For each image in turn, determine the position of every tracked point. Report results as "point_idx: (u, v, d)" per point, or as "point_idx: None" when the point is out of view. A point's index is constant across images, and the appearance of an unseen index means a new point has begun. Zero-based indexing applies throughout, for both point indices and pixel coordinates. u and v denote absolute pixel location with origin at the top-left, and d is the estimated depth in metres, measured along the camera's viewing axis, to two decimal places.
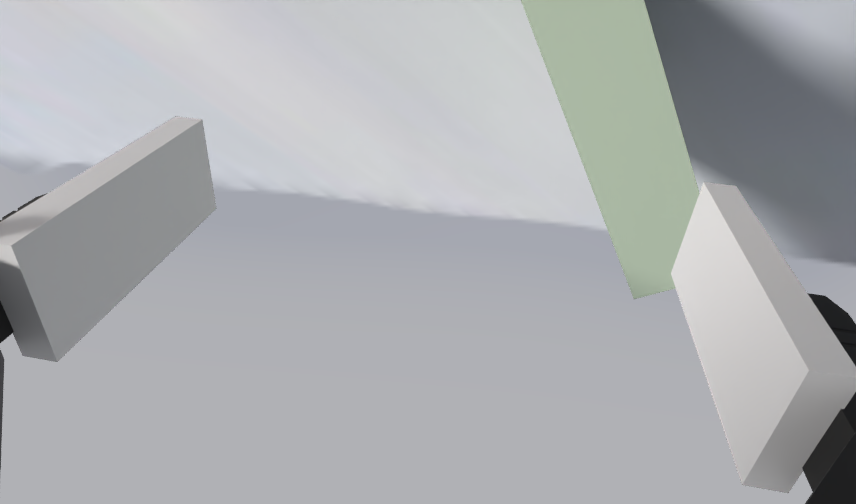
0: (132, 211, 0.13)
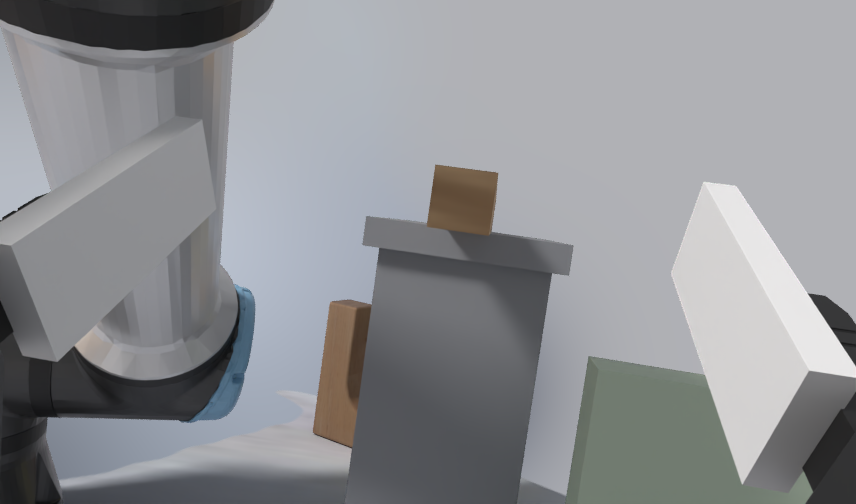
0: (132, 211, 0.13)
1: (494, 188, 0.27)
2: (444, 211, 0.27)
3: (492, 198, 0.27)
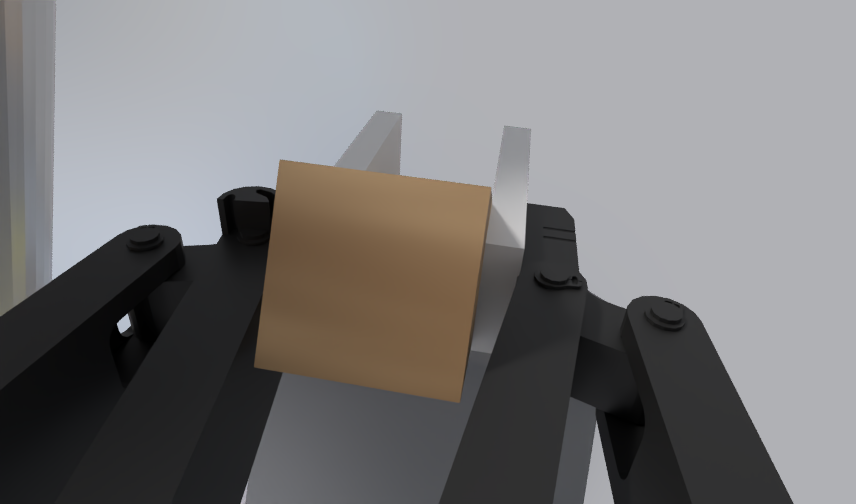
0: None
1: (478, 241, 0.08)
2: (311, 317, 0.08)
3: (471, 275, 0.08)
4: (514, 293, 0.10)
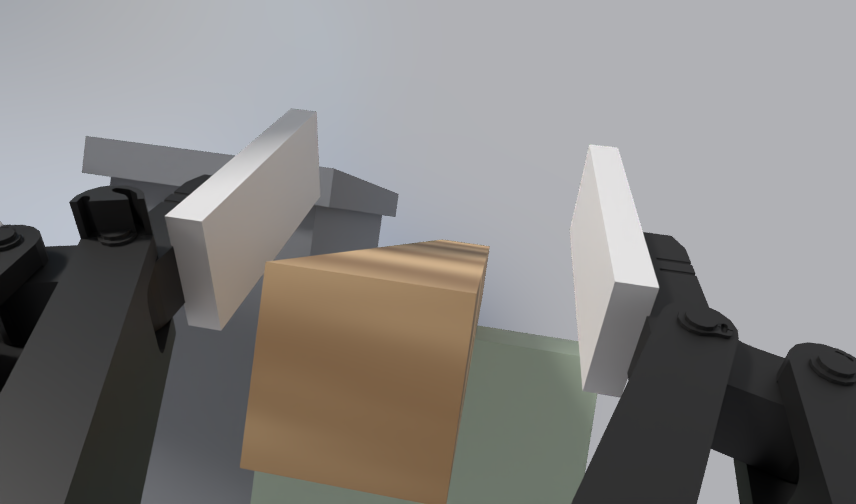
0: (271, 195, 0.14)
1: (464, 347, 0.08)
2: (296, 419, 0.08)
3: (457, 381, 0.08)
4: (653, 332, 0.09)
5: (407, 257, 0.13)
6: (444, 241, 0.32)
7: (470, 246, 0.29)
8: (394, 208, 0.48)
